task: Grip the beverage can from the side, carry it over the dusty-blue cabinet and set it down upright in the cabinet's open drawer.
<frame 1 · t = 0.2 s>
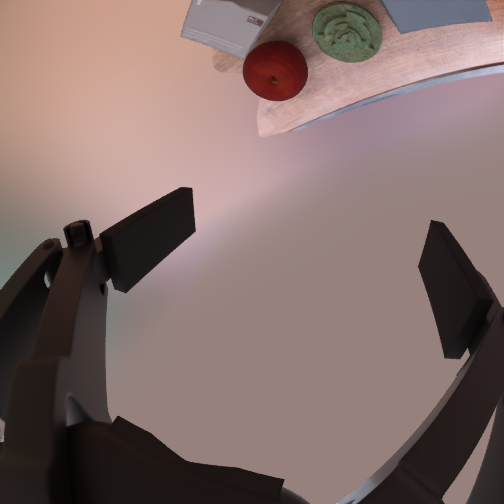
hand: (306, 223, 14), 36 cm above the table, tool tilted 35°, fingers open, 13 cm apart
decorative artifact: (347, 29, 28), on the table
apple: (282, 56, 36), on the table
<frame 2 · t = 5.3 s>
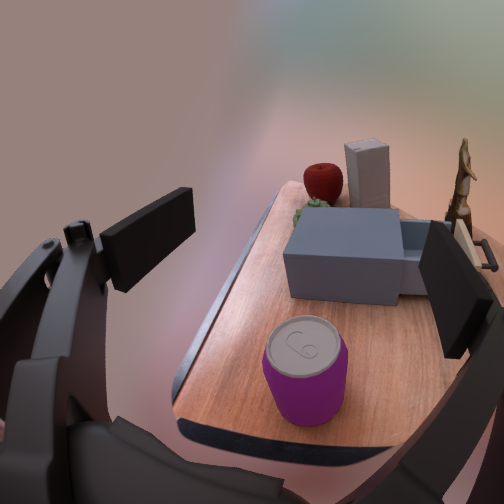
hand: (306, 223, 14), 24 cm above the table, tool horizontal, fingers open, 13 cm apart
cabinet: (348, 272, 44), on the table
decorative artifact: (317, 228, 58), on the table
drawer: (439, 256, 35), point 4 cm above the table, slide at 11.0 cm
cosmetic box: (369, 209, 60), on the table
beverage can: (310, 400, 28), on the table
figurine: (457, 234, 45), on the table
apple: (326, 202, 66), on the table
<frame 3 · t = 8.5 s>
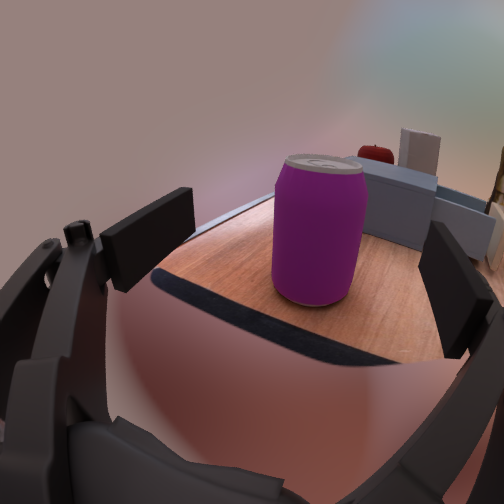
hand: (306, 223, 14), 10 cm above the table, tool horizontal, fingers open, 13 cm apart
cabinet: (379, 220, 41), on the table
drawer: (470, 223, 31), point 4 cm above the table, slide at 11.0 cm
cosmetic box: (412, 197, 56), on the table
beverage can: (310, 288, 26), on the table
figurine: (490, 235, 39), on the table
apple: (372, 183, 64), on the table
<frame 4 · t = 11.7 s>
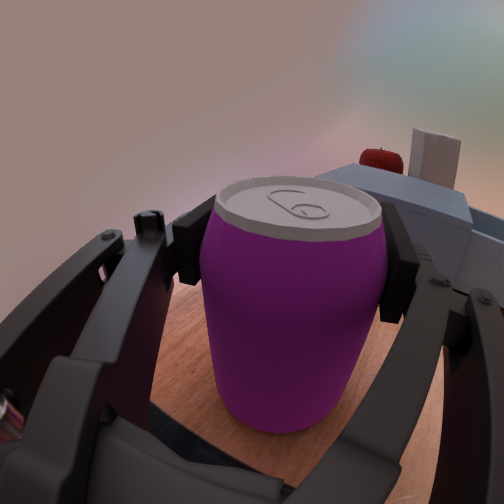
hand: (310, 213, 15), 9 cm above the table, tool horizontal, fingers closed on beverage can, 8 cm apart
cabinet: (388, 251, 31), on the table
cosmetic box: (424, 212, 45), on the table
beverage can: (278, 387, 16), on the table, touching gripper
apple: (377, 194, 53), on the table
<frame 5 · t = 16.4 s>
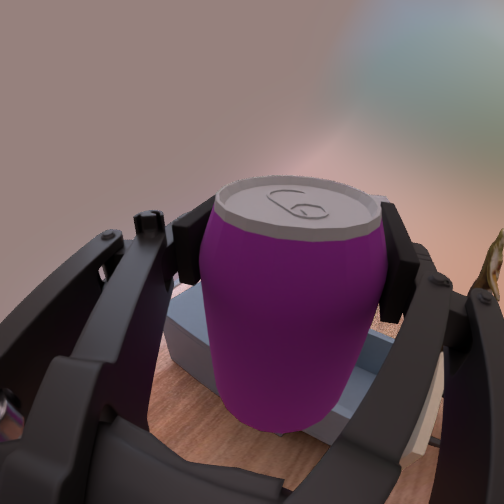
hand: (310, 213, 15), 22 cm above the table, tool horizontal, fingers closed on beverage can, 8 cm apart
cabinet: (257, 361, 32), on the table
drawer: (381, 399, 22), point 4 cm above the table, slide at 11.0 cm
beverage can: (278, 387, 16), point 12 cm above the table, touching gripper
figurine: (445, 360, 29), on the table
when the fingers open (11 cm above the table, at t = 21.0 s): beverage can stays where it is, resting on drawer.
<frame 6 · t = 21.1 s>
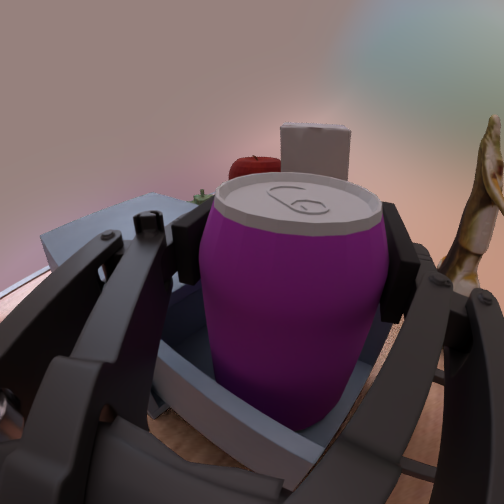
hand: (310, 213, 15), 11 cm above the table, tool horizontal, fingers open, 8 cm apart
cabinet: (156, 316, 24), on the table
drawer: (311, 377, 14), point 4 cm above the table, slide at 11.0 cm, touching beverage can
cosmetic box: (308, 239, 38), on the table
beverage can: (279, 386, 16), point 2 cm above the table, touching drawer
figurine: (438, 332, 21), on the table
apple: (258, 214, 46), on the table
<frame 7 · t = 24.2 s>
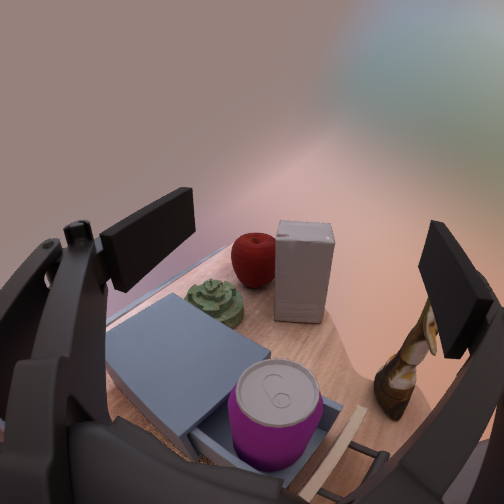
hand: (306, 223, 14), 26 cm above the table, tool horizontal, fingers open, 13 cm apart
cabinet: (185, 390, 32), on the table
decorative artifact: (214, 314, 46), on the table
drawer: (286, 445, 22), point 4 cm above the table, slide at 11.0 cm, touching beverage can
cosmetic box: (296, 313, 47), on the table
beverage can: (269, 444, 24), point 2 cm above the table, touching drawer
figurine: (385, 400, 30), on the table
apple: (256, 282, 55), on the table
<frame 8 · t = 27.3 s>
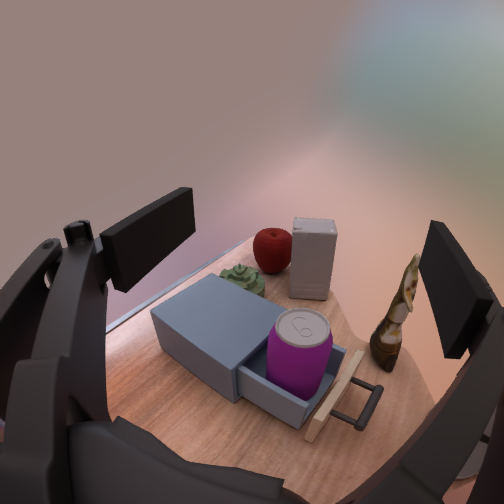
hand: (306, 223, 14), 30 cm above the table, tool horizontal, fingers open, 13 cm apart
cabinet: (222, 350, 44), on the table
decorative artifact: (240, 293, 58), on the table
drawer: (305, 381, 33), point 4 cm above the table, slide at 11.0 cm, touching beverage can
cosmetic box: (307, 292, 58), on the table
beverage can: (292, 384, 36), point 2 cm above the table, touching drawer
figurine: (380, 358, 41), on the table
apple: (272, 269, 66), on the table
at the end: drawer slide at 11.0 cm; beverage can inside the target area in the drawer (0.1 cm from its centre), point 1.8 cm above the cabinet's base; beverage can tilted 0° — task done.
